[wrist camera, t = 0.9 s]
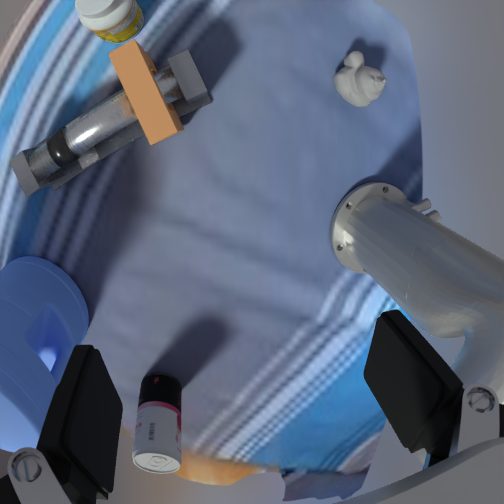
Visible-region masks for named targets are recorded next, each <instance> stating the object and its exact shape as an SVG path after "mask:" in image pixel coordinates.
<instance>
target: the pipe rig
mask: <svg viewBox="0 0 504 504" xmlns="http://www.w3.org/2000/svg"><path fill="white" fill-rule="evenodd" d="M167 60H168V62H169V64H170V65H168V66H166V67H164V68H162V69H160V70H158V71H157V72H158V74H156V75H154V78H155V80H156V82H157V84H158V86H159V88H160V91H161V93H162V95H163V97H164V99H165V101H166V103H167V104H169V103H171V102H172V104H173V106H174V108H175V110H176V113H177V115H178V117H181V116H183V115H186V114H188V113H190V112H192V111H194V110H196V109H199V108H201V107H203V106H205V105H208V104H210V103H212V102H211V100H210V98H209V96H208V94H207V89H206V87H205V84H204V82H203V80H202V78H201V76H200V74H199V72H198V70H197V67H196V65H195V63H194V61H193V59H192V57H191V55H190V53H189V50H186V51H183V52H181V53H179V54H176V55H174V56H172V57H170V58H168V59H167ZM144 135H145V132H144V130H143V128H142V126H141V124H140V122H139V120H138V118H137V116H136V114H135V111H134V109H133V107H132V105H131V103H130V101H129V99H128V96H127V94H126V92H125V90H124V89H122V90H120V91H118V92H116V93H115V94H113V95H111V96H110V97H108V98H106V99H105V100H103V101H101V102H100V103H98V104H96V105H95V106H93V107H92V108H90V109H89V110H87V111H85V112H84V113H82V114H81V115H79V116H78V117H76V118H75V119H73V120H72V121H70V122H69V123H68V124H66V125H65V126H63V127H61V128H60V129H59V130H57V131H56V132H54V133H53V134H52V135H50V136H49V137H48V138H47V139H46V140H44V141H43V142H42V143H40V144H39V145H38V146H36V147H35V148H31V149H27V150H23V151H21V152H20V153H19V154H18V155H16V156H15V157H14V158H13V159H12V160H11V161H10V164H11V166H12V168H13V170H14V172H15V175H16V177H17V179H18V181H19V183H20V185H21V187H22V189H23V191H24V193H25V195H26V197H29V196H31V195H33V194H34V193H36V192H38V191H40V190H42V189H44V188H46V187H48V186H50V185H51V186H52V188H53V190H56V189H57V188H59V187H60V186H62V185H63V184H65V183H66V182H68V181H69V180H71V179H72V178H74V177H75V176H77V175H78V174H80V173H81V172H83V171H84V170H86V169H87V168H89V167H91V166H92V165H94V164H95V163H97V162H99V161H100V160H102V159H104V158H105V157H107V156H109V155H110V154H112V153H114V152H115V151H117V150H119V149H121V148H122V147H124V146H126V145H128V144H129V143H131V142H133V141H135V140H137V139H138V138H140V137H142V136H144Z"/></svg>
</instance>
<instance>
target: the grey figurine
mask: <svg viewBox="0 0 504 504" xmlns="http://www.w3.org/2000/svg"><path fill="white" fill-rule="evenodd" d="M344 65H345V67H343V68H342V69H340V70H339V71H338V72H337V73H336V74H335V75H334V77H333V79H334V83H335V88H336V90H337V91H338V93H339V94H340V95H341V96H342V97H343V98H344V99H345V100H346V101H347V102H349V103H350V104H352V105H354V106H357V107H365V106H367V105H369V104H370V103H371V101H372V100H375V99H377V98H378V97H379V95H380V94H381V92H382V91H383V89H384V87H385V82H386V78H385V77H384V75H383V74H382V72H381V71H379V70H378V69H375V68H372V67H369V66H365V65H364V57H363V54H362V53H361V52H359V51H353V52H351V53H350V54H349V55H347V56H346V57H345V59H344Z"/></svg>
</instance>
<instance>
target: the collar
mask: <svg viewBox="0 0 504 504" xmlns="http://www.w3.org/2000/svg"><path fill="white" fill-rule="evenodd" d="M108 54H109V56H110V59H111V61H112V63H113V65H114V68H115V70H116V72H117V74H118V77H119V79H120V81H121V83H122V85H123V88H124V90H125V92H126V94H127V96H128V99H129V101H130V103H131V105H132V107H133V109H134V111H135V114H136V116H137V118H138V120H139V122H140V124H141V126H142V128H143V130H144V132H145V135H146V137H147V139H148V141H149V143H150V145H153V144H155V143H157V142H160V141H162V140H164V139H166V138H168V137H170V136H172V135H174V134H176V133H178V132H180V131H183V130H184V127H183V125H182V123H181V121H180V119H179V117H178V115H177V113H176V110H175V108H174V106H173V104H172V102H171V103H169V104H167V103H166V101H165V99H164V97H163V95H162V93H161V91H160V88H159V86H158V84H157V82H156V80H155V78H154V75H156V74H158V72H157V70H156V68H155V65H154V63H153V61H152V59H151V58H150V57H149V55H148V54H147V53H146V52H145V51H144V50H143V48H142V47H141V46H140V45H139V44H138V43H137V42H136V40H135V39H134V40H132V41H130V42H128V43H126V44H125V45H123V46H121V47H119V48H117V49H115V50H114V51H112V52H110V53H108Z"/></svg>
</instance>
